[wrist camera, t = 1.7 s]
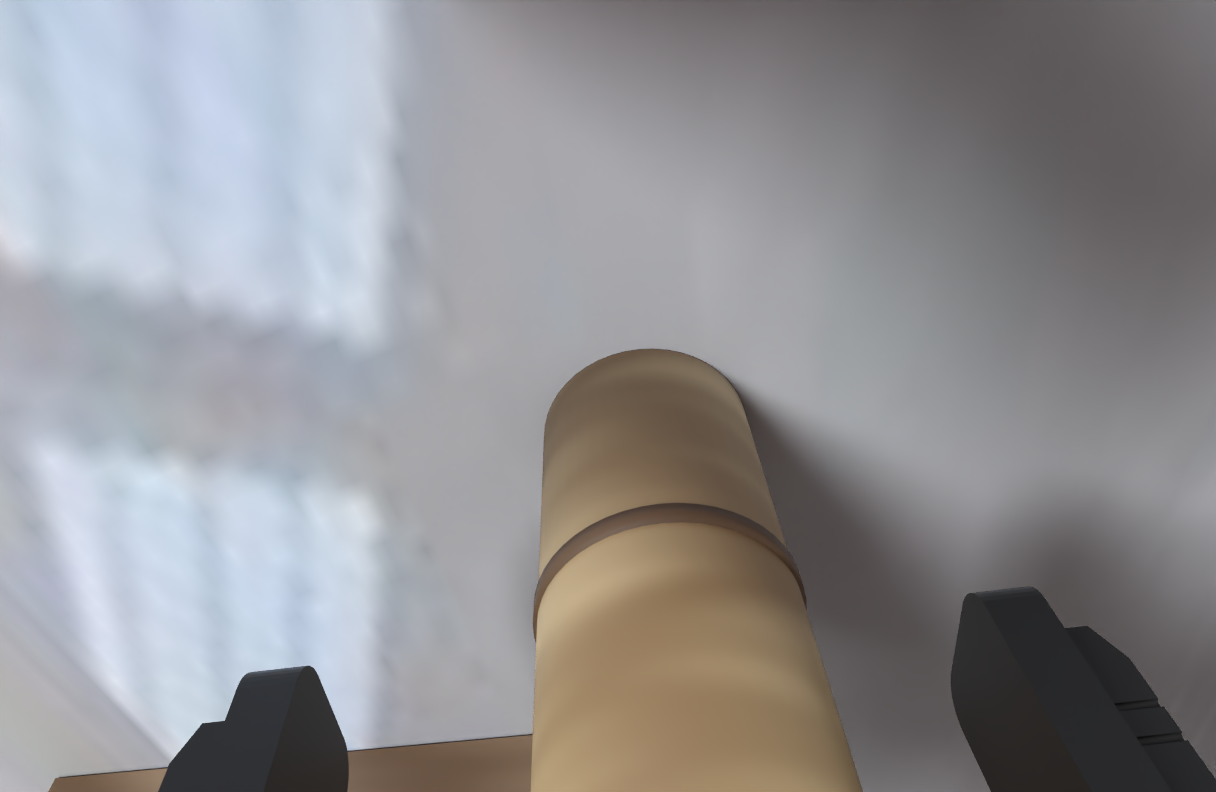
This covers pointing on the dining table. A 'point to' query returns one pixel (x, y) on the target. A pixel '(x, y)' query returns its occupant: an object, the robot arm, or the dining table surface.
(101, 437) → the dining table surface
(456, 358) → the dining table surface
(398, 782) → the board
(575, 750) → the peg
